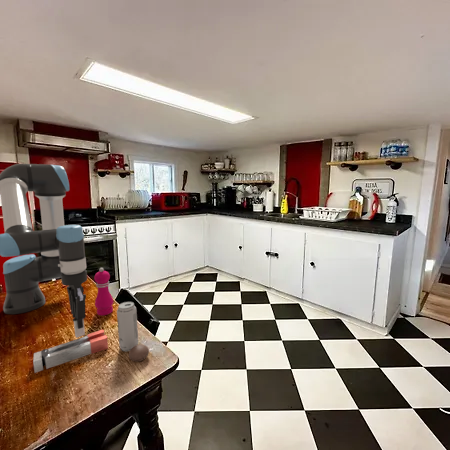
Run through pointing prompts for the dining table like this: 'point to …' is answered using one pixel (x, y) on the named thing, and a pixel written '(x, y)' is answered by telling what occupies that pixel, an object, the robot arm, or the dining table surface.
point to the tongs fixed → (68, 353)
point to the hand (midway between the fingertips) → (80, 335)
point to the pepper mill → (103, 293)
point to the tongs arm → (77, 341)
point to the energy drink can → (127, 326)
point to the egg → (138, 352)
